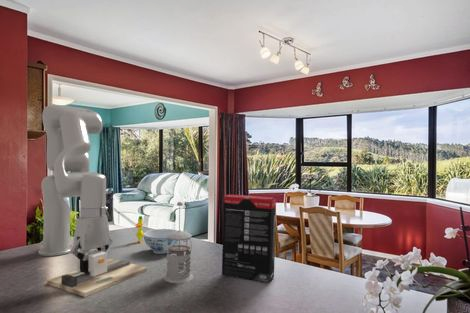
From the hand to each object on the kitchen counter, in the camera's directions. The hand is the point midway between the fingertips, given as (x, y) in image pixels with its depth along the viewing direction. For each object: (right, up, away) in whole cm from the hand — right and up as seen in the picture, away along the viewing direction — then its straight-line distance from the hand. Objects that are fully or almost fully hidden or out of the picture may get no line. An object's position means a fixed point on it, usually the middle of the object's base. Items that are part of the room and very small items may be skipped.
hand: (92, 268), depth 101 cm
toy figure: (+2, -4, +45) cm, 45 cm away
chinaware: (+15, -4, +32) cm, 35 cm away
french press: (+27, -4, +4) cm, 28 cm away
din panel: (+1, -4, +3) cm, 5 cm away
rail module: (0, -1, 0) cm, 1 cm away
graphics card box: (+50, -5, +4) cm, 51 cm away
